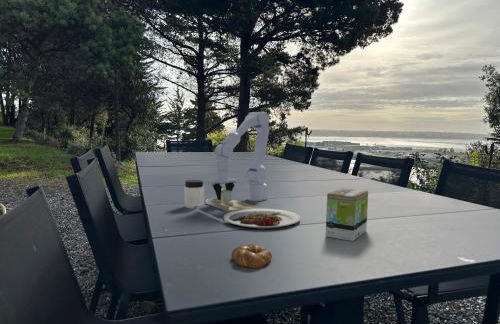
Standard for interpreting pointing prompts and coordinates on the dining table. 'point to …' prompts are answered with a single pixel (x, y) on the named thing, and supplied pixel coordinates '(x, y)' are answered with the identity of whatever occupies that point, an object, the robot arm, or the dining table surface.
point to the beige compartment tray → (229, 204)
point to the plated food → (263, 218)
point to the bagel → (251, 256)
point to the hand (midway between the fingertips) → (223, 199)
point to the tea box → (346, 214)
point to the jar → (193, 193)
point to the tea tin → (225, 196)
